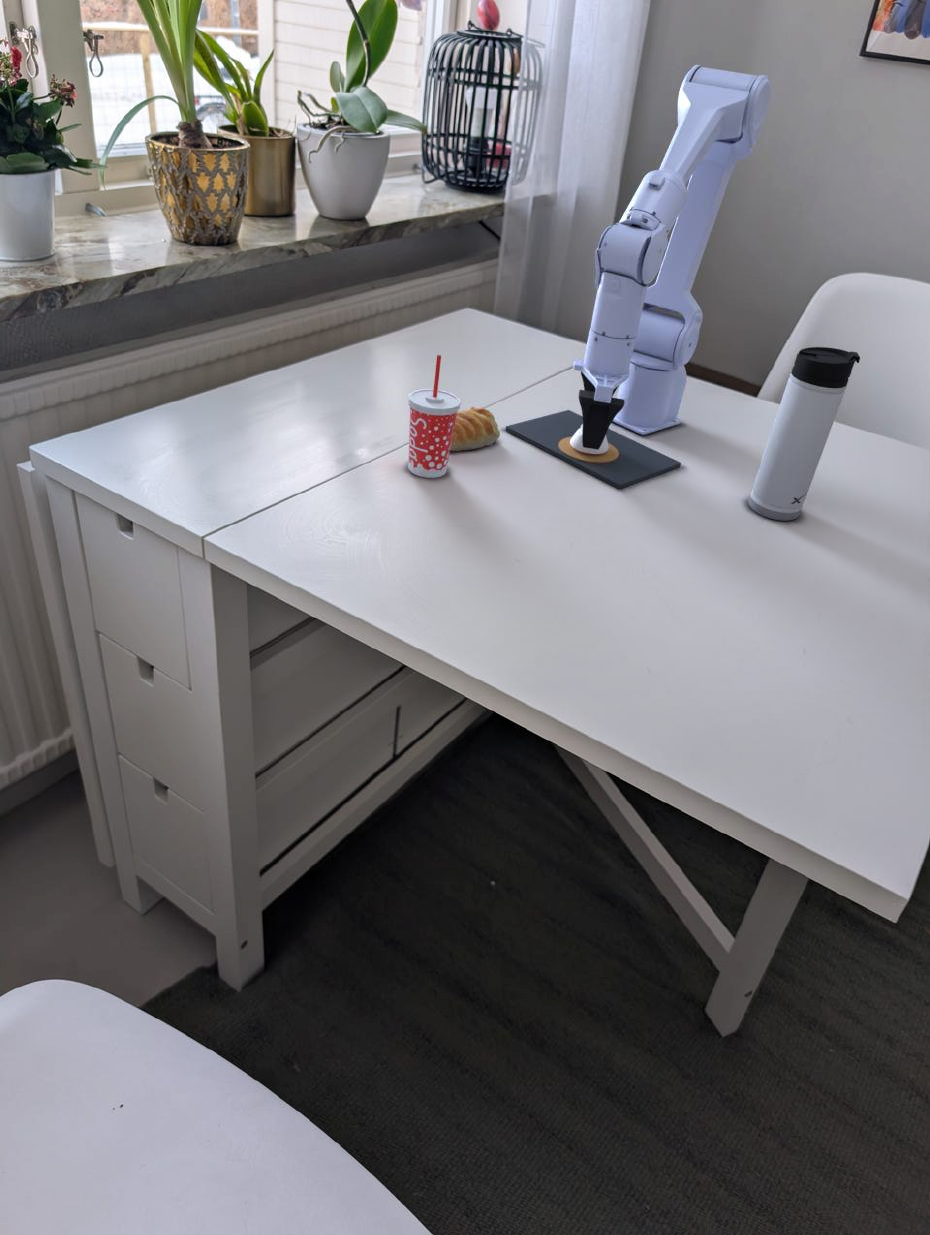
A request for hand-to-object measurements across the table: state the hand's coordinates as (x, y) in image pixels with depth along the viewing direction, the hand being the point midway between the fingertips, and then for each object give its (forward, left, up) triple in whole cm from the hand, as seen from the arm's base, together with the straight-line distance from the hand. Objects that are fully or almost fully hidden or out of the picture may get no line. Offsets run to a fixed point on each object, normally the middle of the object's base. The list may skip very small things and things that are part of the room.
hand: (591, 436), depth 116 cm
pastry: (+12, -11, -3) cm, 17 cm away
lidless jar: (0, 0, -2) cm, 2 cm away
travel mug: (-9, +23, -3) cm, 25 cm away
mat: (-2, -1, -3) cm, 3 cm away
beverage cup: (+22, -7, -3) cm, 23 cm away
